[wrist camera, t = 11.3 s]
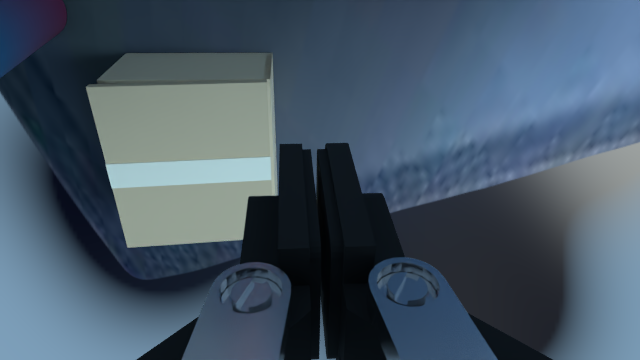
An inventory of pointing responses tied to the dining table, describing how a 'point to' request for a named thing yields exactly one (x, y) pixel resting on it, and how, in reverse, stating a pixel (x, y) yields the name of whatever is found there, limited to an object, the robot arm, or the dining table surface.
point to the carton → (199, 76)
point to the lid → (184, 156)
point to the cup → (27, 28)
